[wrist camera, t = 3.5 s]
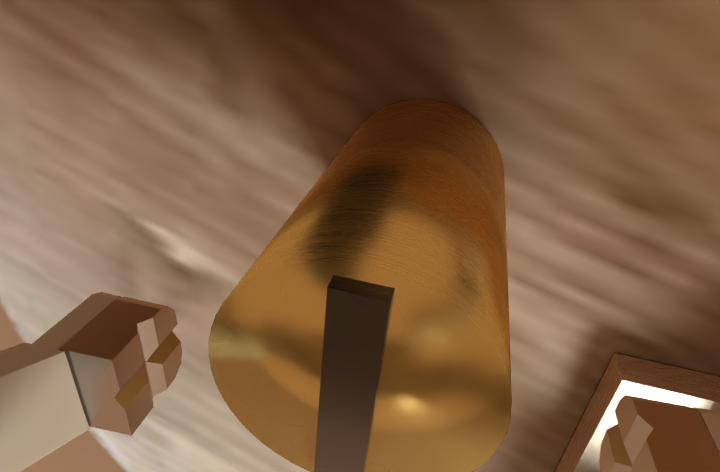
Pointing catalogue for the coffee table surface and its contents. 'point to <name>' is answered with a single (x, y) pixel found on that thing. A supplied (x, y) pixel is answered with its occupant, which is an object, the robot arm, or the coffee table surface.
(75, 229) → the coffee table surface
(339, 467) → the cylinder
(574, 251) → the coffee table surface
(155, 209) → the coffee table surface
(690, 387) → the shaft rig
